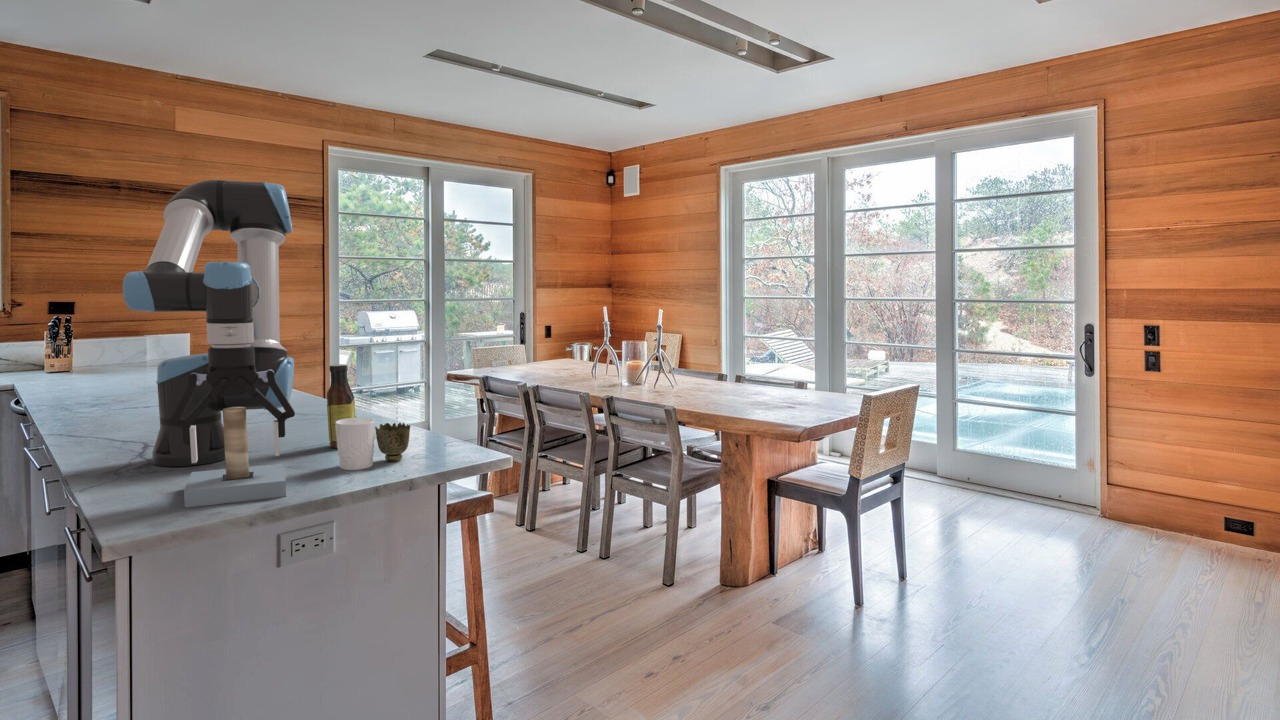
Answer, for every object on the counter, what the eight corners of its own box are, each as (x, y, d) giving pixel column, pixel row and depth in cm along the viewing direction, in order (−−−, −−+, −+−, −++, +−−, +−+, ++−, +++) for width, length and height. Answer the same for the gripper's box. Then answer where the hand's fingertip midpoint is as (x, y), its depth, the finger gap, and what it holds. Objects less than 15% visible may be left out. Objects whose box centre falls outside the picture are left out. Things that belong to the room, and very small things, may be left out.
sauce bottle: (362, 445, 176) (359, 364, 174) (339, 450, 171) (336, 367, 169) (345, 442, 179) (343, 362, 177) (322, 446, 174) (319, 365, 172)
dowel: (227, 490, 137) (223, 407, 136) (250, 488, 139) (246, 406, 137) (226, 496, 134) (221, 411, 132) (249, 493, 136) (245, 409, 134)
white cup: (352, 473, 151) (350, 426, 150) (329, 467, 155) (327, 421, 154) (383, 465, 157) (382, 420, 156) (360, 460, 161) (359, 416, 160)
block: (192, 487, 139) (191, 472, 139) (284, 478, 146) (284, 463, 146) (184, 507, 127) (183, 491, 126) (286, 496, 134) (285, 480, 134)
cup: (400, 465, 157) (399, 429, 156) (369, 463, 159) (368, 427, 158) (417, 457, 164) (416, 423, 164) (387, 455, 166) (386, 421, 165)
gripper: (147, 349, 125) (154, 469, 127) (306, 345, 136) (310, 455, 138) (153, 345, 131) (160, 460, 133) (304, 342, 142) (308, 447, 145)
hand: (236, 458), depth 136 cm, fingers open, 13 cm apart
